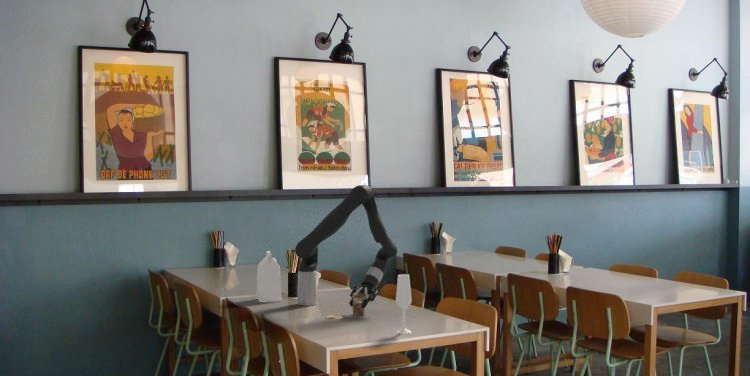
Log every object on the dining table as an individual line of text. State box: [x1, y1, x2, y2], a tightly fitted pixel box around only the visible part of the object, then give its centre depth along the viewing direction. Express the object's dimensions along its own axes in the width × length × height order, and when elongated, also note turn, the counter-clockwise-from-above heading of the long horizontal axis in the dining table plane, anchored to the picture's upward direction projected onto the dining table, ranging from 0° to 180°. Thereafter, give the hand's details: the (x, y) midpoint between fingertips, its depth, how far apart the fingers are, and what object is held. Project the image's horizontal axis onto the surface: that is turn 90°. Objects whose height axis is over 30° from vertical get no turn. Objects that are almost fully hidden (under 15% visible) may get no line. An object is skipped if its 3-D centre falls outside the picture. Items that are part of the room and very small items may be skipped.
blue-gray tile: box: [344, 312, 373, 319], centre depth 342 cm, size 12×12×1 cm
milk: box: [256, 250, 283, 303], centre depth 388 cm, size 12×12×26 cm
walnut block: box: [352, 293, 366, 316], centre depth 342 cm, size 5×5×10 cm
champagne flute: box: [395, 273, 413, 335], centre depth 305 cm, size 7×7×24 cm
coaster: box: [323, 314, 344, 320], centre depth 337 cm, size 9×9×1 cm
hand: (356, 306), depth 340 cm, fingers closed on walnut block, 7 cm apart
